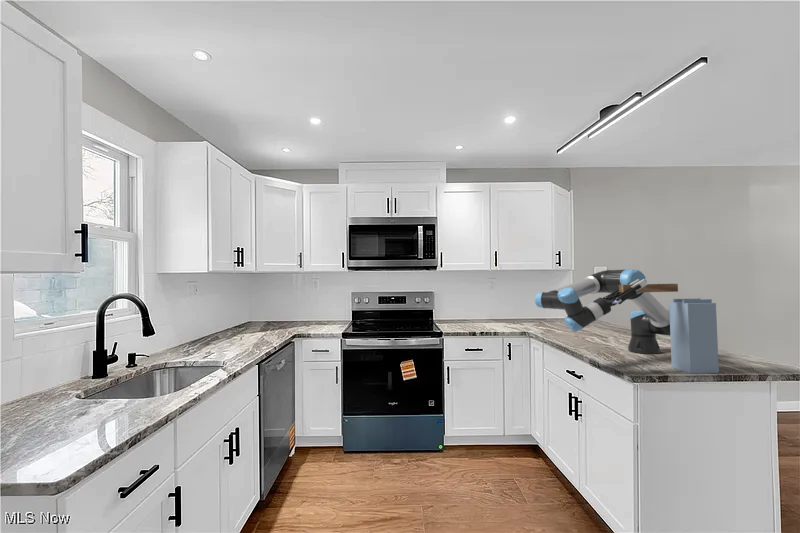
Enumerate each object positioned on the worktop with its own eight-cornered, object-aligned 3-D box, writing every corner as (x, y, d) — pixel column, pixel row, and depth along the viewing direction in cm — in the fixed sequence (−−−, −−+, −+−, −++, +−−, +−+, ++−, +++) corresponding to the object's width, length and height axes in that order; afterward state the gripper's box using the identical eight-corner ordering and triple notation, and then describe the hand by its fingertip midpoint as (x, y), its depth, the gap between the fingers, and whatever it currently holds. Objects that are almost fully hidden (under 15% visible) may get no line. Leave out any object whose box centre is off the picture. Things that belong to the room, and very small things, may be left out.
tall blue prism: (671, 367, 179) (669, 298, 180) (698, 366, 179) (695, 298, 180) (690, 373, 167) (687, 300, 168) (718, 373, 167) (715, 299, 168)
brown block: (619, 292, 177) (618, 284, 177) (672, 291, 176) (672, 283, 176) (623, 292, 173) (623, 284, 173) (678, 291, 173) (677, 283, 173)
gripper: (593, 314, 183) (636, 288, 183) (612, 317, 167) (659, 289, 166) (585, 300, 183) (627, 274, 183) (602, 302, 167) (649, 274, 167)
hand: (642, 281), depth 175 cm, fingers closed on brown block, 3 cm apart
